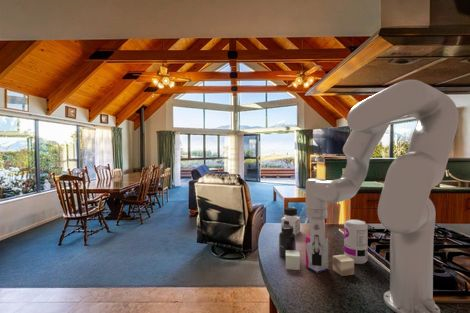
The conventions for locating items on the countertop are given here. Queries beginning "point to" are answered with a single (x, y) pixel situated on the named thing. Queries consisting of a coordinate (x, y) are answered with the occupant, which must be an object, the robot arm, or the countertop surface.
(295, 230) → the container
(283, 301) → the countertop surface
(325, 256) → the supplement box
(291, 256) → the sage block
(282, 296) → the countertop surface
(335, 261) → the birch block
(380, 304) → the countertop surface
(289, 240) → the supplement bottle
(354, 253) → the supplement can
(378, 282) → the countertop surface
